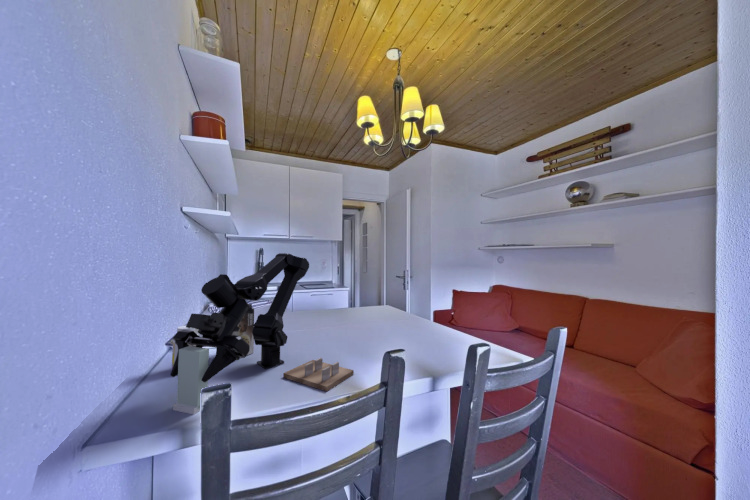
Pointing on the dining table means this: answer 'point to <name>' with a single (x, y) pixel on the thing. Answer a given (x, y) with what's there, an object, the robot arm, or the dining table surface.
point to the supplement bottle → (175, 347)
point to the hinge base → (319, 374)
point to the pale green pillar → (191, 378)
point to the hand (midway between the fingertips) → (187, 378)
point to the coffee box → (247, 330)
